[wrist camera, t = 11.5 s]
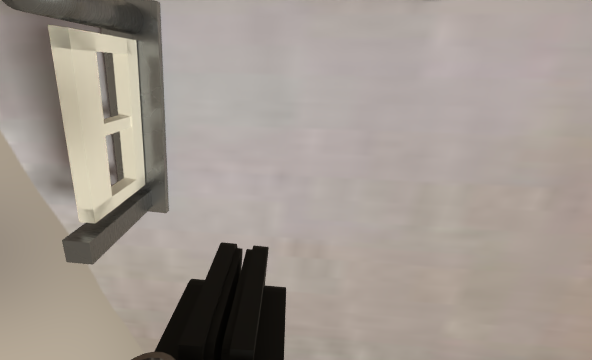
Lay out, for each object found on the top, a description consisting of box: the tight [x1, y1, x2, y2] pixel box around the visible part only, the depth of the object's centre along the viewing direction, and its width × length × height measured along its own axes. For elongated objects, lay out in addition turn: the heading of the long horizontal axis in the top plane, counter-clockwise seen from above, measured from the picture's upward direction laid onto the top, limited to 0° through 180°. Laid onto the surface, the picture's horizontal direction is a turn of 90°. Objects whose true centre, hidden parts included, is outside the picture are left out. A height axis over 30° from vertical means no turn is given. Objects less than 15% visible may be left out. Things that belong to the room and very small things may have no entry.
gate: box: [48, 25, 145, 224], centre depth 29 cm, size 17×2×10 cm, turn 172°
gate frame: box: [2, 0, 169, 264], centre depth 28 cm, size 25×6×14 cm, turn 173°
